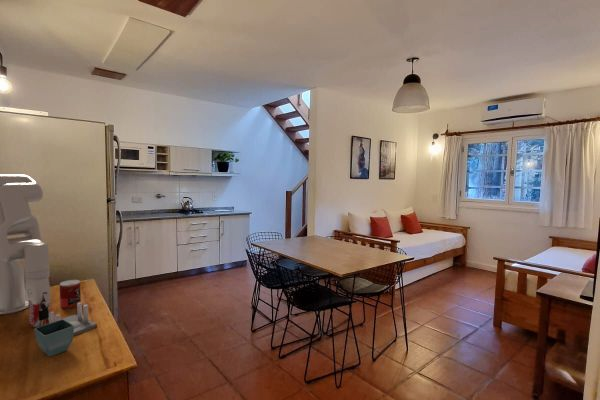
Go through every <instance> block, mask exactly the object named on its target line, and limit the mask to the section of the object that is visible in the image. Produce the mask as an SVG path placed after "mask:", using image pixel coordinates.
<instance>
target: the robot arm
mask: <svg viewBox="0 0 600 400" xmlns="http://www.w3.org/2000/svg"><path fill="white" fill-rule="evenodd" d="M43 197H44V192H43V189H42V187H41V185H40V183H38V182H37V181H36V180H35V179H33V178H32V177H31V176H29V175H27V174H0V315H8V314H14V313H18V312H20V311H23V310H25V309H27V308H29V304H28V301H29V300H31V302H32V304H35V305H38V306H39V310H40V311H38V314H39V321H41V320H44V319H47V318H49V312H50V305H51V288H50V287H51V286H50V281H49V280H50V279H49V277H51V276H50V274H51V273H50V272H51V271H50V253H49V252H50V251H49V245H48V243H46V242H45V241H43V240H42V239H43V238H42V236H41V230H40V224H39V221H38V218H37V216H35V215H34V214H32V211H31V208H30V207H31V206H30V204H29V203H35V202H40V201H41V200H42V199H43ZM18 235H24V236H21V237H11V238H8V237H10V236H18ZM18 261H24V266H23V265H22V264H21V263H19V262H18ZM42 300H44V302H41V301H42ZM44 303H45V304H44ZM41 304H44V305H43V306H42V305H41Z"/></svg>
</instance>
